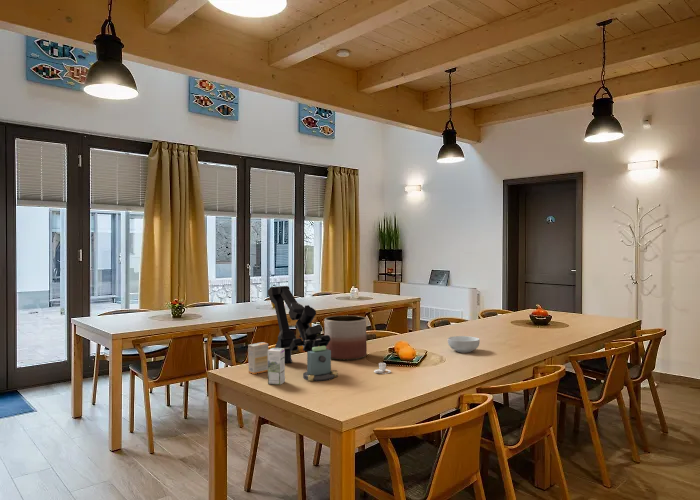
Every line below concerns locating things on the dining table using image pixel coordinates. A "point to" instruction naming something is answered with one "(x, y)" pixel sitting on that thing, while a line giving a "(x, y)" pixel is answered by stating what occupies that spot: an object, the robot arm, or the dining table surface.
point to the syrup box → (276, 366)
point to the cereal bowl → (463, 343)
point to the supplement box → (258, 357)
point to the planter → (346, 337)
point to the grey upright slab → (319, 361)
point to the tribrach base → (320, 376)
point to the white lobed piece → (382, 369)
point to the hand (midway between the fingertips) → (316, 358)
